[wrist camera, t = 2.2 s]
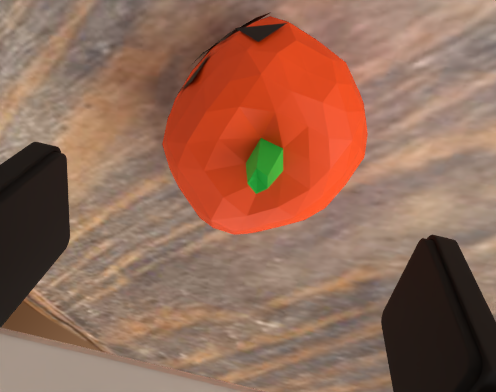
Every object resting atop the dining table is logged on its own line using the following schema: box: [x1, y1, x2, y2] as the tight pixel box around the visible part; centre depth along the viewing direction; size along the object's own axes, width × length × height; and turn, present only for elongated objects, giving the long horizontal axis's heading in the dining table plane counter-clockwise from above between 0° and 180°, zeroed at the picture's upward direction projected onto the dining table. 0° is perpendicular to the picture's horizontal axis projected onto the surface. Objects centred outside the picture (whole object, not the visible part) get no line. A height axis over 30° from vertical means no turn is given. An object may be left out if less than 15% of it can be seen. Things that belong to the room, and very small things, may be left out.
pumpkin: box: [162, 13, 367, 234], centre depth 15 cm, size 7×8×6 cm
